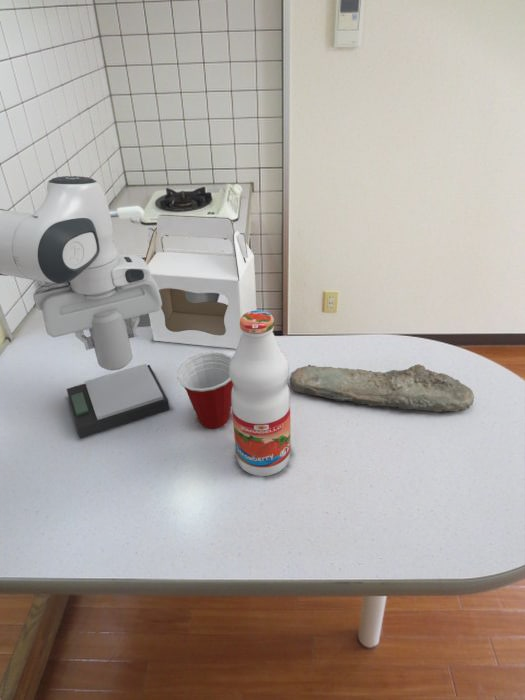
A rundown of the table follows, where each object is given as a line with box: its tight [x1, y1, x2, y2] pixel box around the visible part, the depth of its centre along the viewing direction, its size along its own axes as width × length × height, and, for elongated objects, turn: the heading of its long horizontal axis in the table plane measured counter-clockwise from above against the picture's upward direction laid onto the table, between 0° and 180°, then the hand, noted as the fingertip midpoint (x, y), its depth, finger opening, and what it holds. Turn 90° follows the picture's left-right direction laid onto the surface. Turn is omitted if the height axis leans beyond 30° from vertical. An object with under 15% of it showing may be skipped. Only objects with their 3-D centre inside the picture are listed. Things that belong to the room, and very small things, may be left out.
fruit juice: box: [229, 309, 292, 477], centre depth 83 cm, size 9×9×28 cm
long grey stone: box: [288, 363, 475, 413], centre depth 102 cm, size 35×5×10 cm
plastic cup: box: [176, 351, 233, 430], centre depth 96 cm, size 11×11×12 cm
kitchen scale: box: [66, 363, 170, 439], centre depth 103 cm, size 17×13×3 cm
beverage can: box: [88, 309, 134, 371], centre depth 95 cm, size 6×6×12 cm
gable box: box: [144, 214, 258, 350], centre depth 117 cm, size 22×13×28 cm, turn 77°
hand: (111, 341), depth 96 cm, fingers closed on beverage can, 6 cm apart
